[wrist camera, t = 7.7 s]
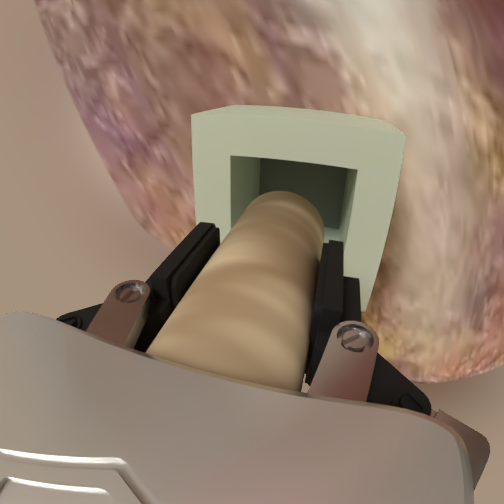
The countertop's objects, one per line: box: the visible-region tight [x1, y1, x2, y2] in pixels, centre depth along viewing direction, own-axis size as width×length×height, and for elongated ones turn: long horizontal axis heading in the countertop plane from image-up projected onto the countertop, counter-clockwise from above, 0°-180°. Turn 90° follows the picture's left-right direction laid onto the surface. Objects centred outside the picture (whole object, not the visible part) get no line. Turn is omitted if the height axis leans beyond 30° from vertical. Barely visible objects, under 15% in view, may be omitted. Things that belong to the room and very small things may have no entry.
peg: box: [146, 191, 324, 392], centre depth 10 cm, size 4×4×12 cm
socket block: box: [191, 105, 406, 312], centre depth 18 cm, size 10×10×7 cm
